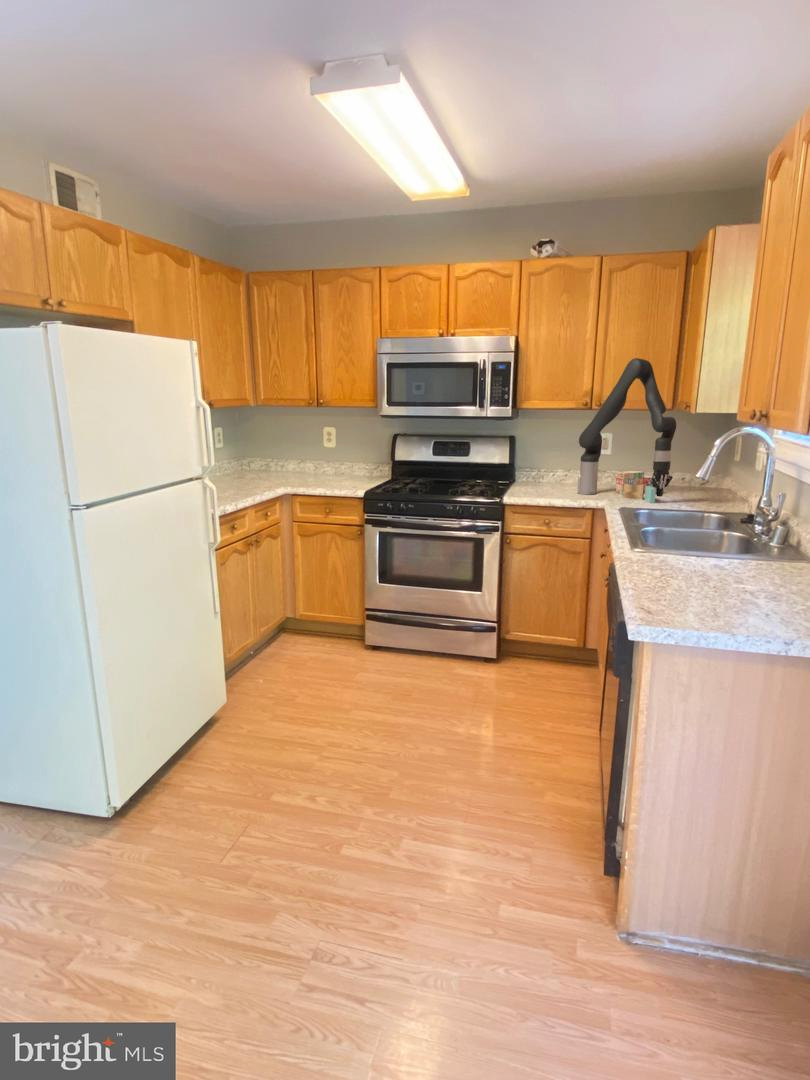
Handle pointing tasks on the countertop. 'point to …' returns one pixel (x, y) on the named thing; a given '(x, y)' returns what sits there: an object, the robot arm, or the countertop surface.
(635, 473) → the stack of blocks
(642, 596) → the countertop surface
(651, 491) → the fence free panel
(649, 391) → the robot arm
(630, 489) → the fence fixed panel
